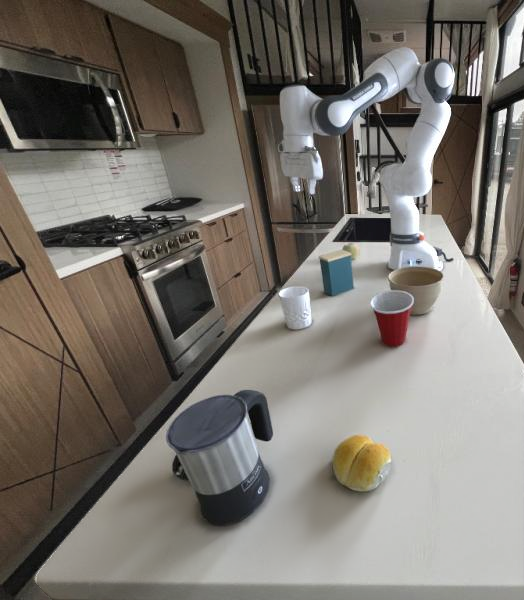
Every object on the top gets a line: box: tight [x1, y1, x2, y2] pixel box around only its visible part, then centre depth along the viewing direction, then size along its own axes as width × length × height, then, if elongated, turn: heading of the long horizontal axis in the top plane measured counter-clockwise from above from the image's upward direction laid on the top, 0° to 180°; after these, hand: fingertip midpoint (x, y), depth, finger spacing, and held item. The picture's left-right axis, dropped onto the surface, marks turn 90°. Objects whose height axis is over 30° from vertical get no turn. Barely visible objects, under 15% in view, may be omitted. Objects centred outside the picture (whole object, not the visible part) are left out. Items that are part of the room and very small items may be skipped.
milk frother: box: [165, 389, 274, 527], centre depth 46 cm, size 14×16×15 cm
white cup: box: [278, 285, 312, 330], centre depth 90 cm, size 8×8×10 cm
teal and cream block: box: [318, 249, 354, 297], centre depth 110 cm, size 5×9×13 cm, turn 135°
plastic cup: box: [368, 290, 414, 348], centre depth 80 cm, size 11×11×12 cm
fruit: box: [342, 242, 360, 260], centre depth 142 cm, size 8×7×8 cm
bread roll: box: [332, 434, 392, 492], centre depth 50 cm, size 8×9×4 cm
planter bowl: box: [387, 266, 444, 316], centre depth 97 cm, size 16×16×11 cm
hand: (304, 192), depth 107 cm, fingers open, 8 cm apart
